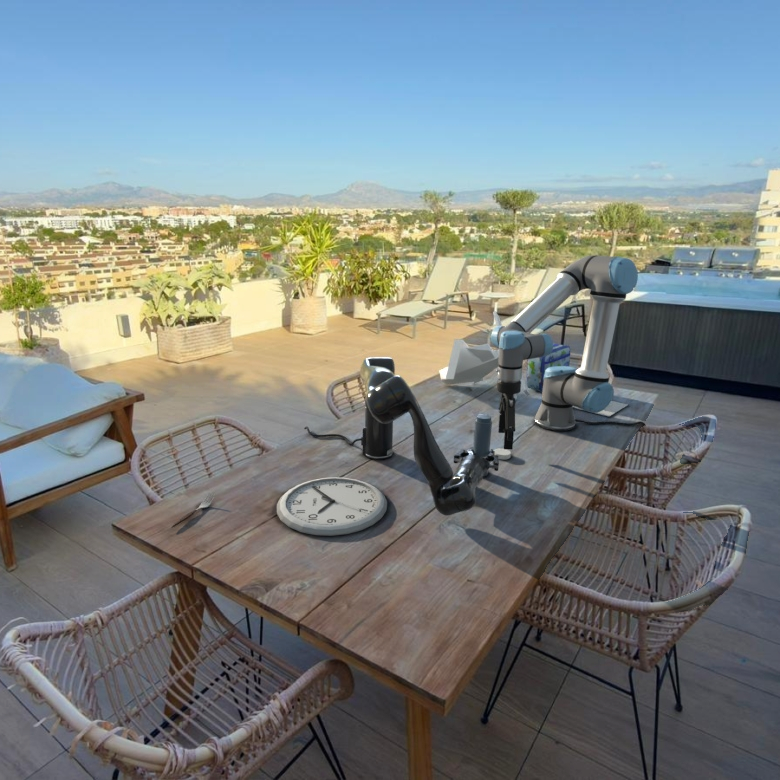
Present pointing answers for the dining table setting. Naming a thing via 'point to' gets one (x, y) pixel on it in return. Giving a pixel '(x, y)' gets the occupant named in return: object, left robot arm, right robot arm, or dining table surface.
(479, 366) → the white plastic object
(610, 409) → the invitation card
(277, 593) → the dining table surface
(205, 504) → the fork
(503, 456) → the lid
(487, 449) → the jar
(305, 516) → the wall clock
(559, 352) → the lunch box
